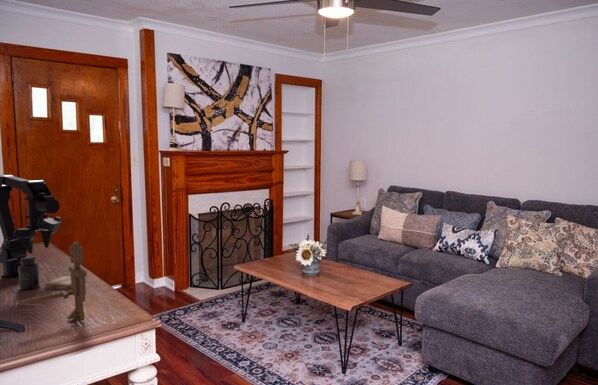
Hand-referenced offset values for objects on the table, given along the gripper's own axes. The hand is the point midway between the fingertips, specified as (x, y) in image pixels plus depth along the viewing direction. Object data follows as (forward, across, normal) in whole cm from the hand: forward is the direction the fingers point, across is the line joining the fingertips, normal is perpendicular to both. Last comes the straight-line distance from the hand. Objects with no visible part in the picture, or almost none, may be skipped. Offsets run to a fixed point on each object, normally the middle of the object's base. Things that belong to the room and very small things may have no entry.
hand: (38, 250), depth 175 cm
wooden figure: (+13, -38, -35) cm, 54 cm away
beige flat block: (+14, -3, -13) cm, 19 cm away
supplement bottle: (+13, -7, -1) cm, 15 cm away
